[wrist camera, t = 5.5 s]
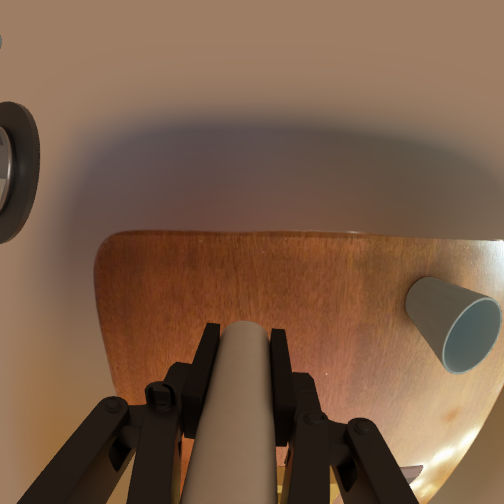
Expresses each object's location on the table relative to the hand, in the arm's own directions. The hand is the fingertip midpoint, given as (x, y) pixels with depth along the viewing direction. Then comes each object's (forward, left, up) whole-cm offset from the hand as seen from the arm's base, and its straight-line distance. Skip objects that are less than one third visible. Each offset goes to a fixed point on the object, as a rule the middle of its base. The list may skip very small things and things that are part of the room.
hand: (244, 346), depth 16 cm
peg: (0, 0, -1) cm, 1 cm away
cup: (+20, -1, -13) cm, 24 cm away
